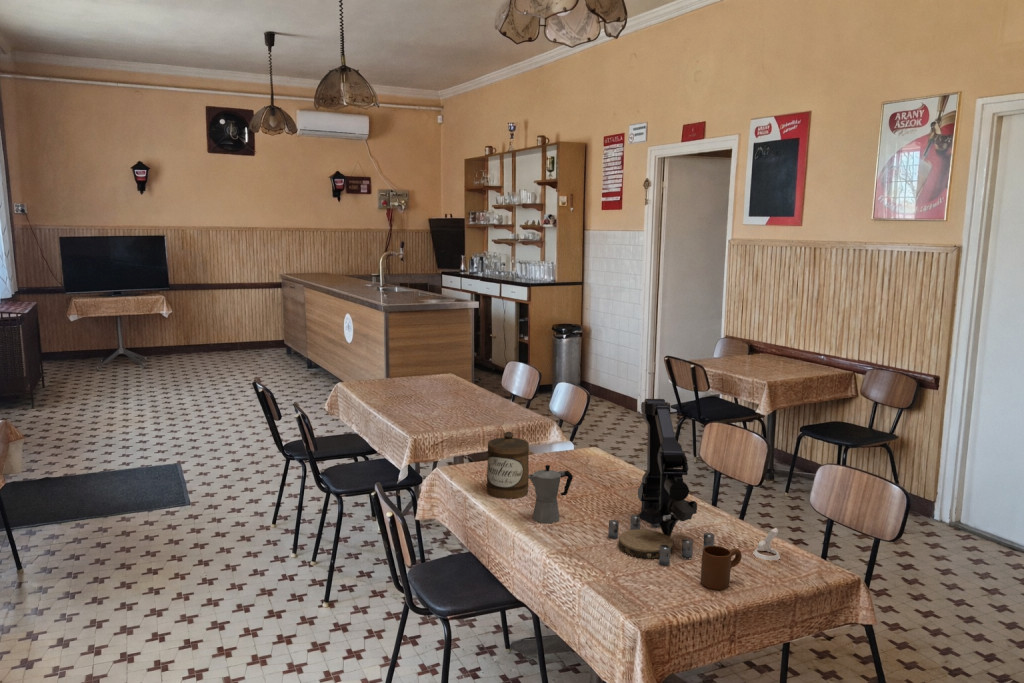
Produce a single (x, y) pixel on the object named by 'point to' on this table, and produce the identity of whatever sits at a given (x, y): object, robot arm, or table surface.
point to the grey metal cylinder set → (664, 549)
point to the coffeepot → (548, 493)
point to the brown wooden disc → (643, 543)
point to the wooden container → (508, 467)
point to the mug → (718, 566)
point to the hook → (767, 546)
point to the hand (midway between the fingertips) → (667, 538)
